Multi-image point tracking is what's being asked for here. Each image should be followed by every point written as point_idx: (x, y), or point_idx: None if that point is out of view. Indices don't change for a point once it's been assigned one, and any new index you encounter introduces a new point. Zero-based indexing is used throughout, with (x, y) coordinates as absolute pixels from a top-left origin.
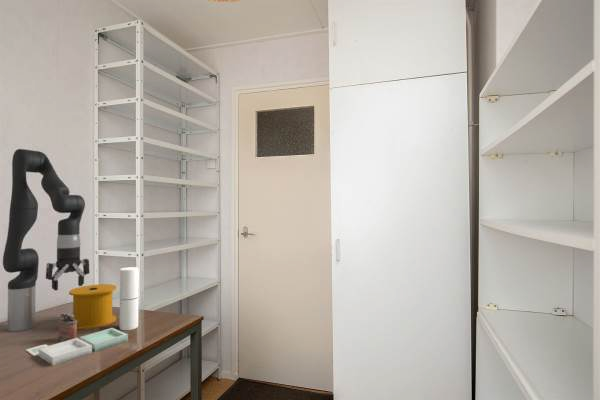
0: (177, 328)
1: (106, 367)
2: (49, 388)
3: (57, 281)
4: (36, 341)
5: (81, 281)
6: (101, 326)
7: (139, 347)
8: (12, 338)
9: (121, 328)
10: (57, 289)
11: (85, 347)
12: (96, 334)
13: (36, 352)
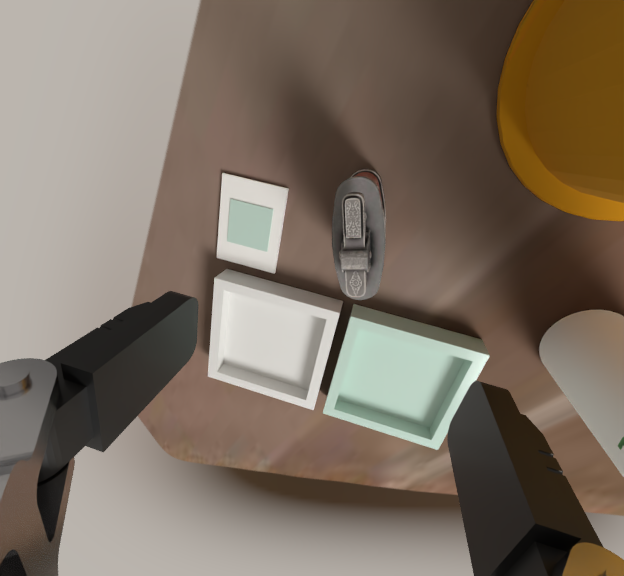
0: (603, 512)
1: (277, 473)
2: (170, 435)
3: (107, 438)
4: (294, 98)
5: (469, 496)
6: (570, 213)
7: (401, 481)
8: None
9: (543, 345)
10: (186, 355)
11: (294, 403)
12: (408, 339)
13: (230, 241)
